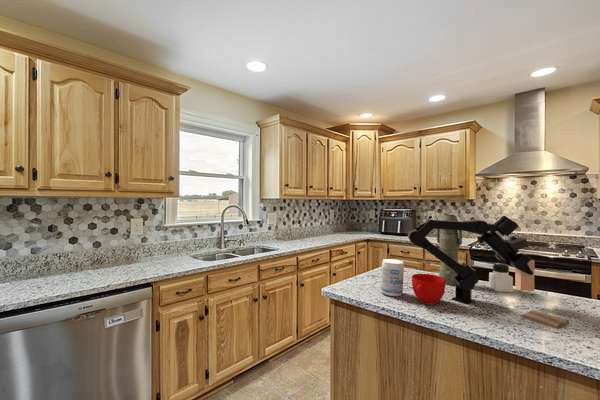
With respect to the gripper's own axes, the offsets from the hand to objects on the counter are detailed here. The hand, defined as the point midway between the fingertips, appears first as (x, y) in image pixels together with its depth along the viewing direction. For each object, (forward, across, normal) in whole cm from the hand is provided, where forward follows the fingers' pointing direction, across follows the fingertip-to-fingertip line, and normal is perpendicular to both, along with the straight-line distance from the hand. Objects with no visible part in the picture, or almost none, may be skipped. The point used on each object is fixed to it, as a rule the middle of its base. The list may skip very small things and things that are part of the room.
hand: (528, 272), depth 112 cm
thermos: (-6, +26, +26) cm, 37 cm away
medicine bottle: (+8, +21, +11) cm, 25 cm away
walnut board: (+9, -13, +10) cm, 19 cm away
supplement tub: (-27, +1, +47) cm, 54 cm away
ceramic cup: (-18, -7, +37) cm, 42 cm away
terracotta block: (+4, 0, +6) cm, 7 cm away
